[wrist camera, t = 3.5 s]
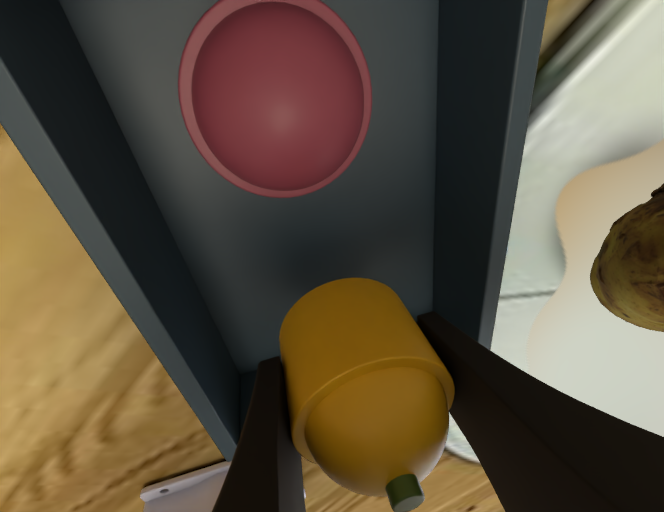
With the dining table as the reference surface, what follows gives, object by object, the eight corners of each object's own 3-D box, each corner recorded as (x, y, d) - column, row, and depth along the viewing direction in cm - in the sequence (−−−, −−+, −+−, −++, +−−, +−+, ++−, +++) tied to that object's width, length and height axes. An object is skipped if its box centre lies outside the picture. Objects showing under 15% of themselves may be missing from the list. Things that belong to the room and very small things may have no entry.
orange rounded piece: (295, 388, 13) (324, 575, 8) (263, 298, 10) (279, 493, 6) (405, 355, 14) (493, 511, 9) (401, 261, 11) (521, 411, 6)
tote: (231, 376, 18) (227, 463, 14) (20, -37, 9) (-165, -120, 5) (437, 316, 19) (486, 379, 15) (451, -95, 10) (582, -197, 6)
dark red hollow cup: (224, 184, 12) (213, 248, 8) (166, 19, 9) (102, -17, 5) (352, 155, 13) (406, 201, 8) (333, -8, 10) (398, -61, 6)
